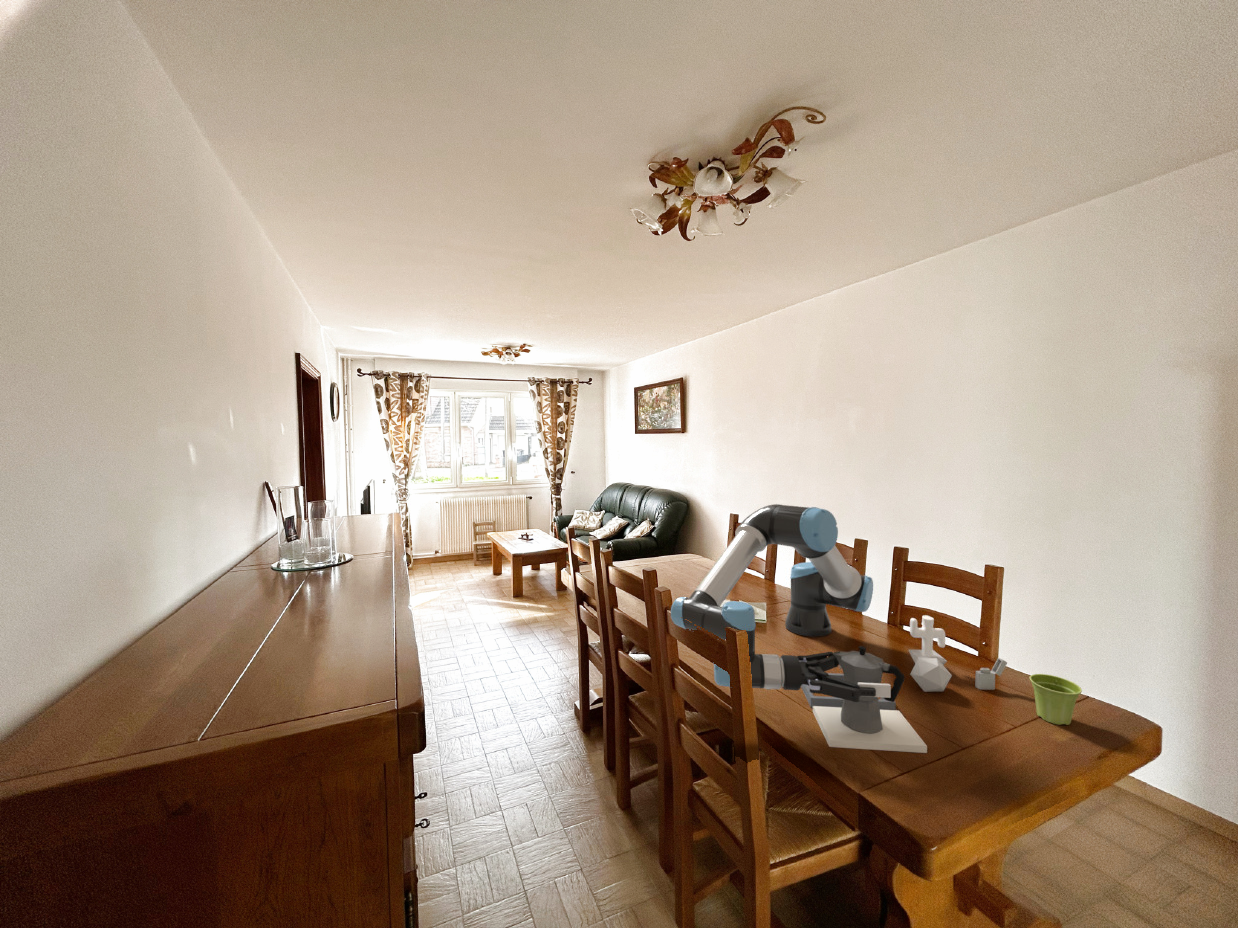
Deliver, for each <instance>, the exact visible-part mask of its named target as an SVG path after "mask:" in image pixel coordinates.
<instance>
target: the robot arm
mask: <svg viewBox="0 0 1238 928" xmlns="http://www.w3.org/2000/svg"><path fill="white" fill-rule="evenodd" d="M837 524H838V522H837V519H836V517H835V516H834V514H833V513H832V512H831V511H830V510H828V509H825V508H819V507H815V506H812V507H811V506H810V507H809V506H807V507H806V506H795V505H788V504H787V505H785V504H777V503H775V504H768V505H766V506H763V507H760V508H758V509H757V510H755V511H754V512H752V513H751V514H749V515H747V516H746V517H745V518H744V520H742V521H741V523H740V524H739V525H738V526H737V528H736V529H735V531H734V532H735V536H734V537H733V539H732V540H731V541H730V543H729V544H728V546H726V548H725V549H724V550H723V552H722V553H721V555H720V556H719V558H718V559H717V561H715V562H714V564H713V566H712V567H711V568H710V569H709V571H708V572H707V574H706V575H705V576H704V578H703V579H702V580H701V582H700V583H699V584H698V586H697V587H695V589H694V591H693V592H692V593H691V594H690V596H689V597H687V596H679V597H677V598H676V599H675V600H674V601H673V603H672V605H671V607H670V618H671V620H672V623H673V624H675V625H676V626H677V627H679V628H682V629H684V630H686V629H689V630H688V631H691V629H692V630H697V629H696V628H697V626H700V627H702V628H704V629H705V630H708V632H711V633H713V634H714V635H716V636H718V637H719V638H721V639H723V640H725V639H726V630H725V628H726V627H731V628H734V629H737V630H746V632H747V634H748V644H749V656H750V662H751V674H752V688H751V689H765V690H768V691H770V690H781V689H783V690H785V691H800V689H802V688H801V685H802V684H804V685H809V687H810V692H811V693H813V694H819V695H820V694H821V695H825V696H827V697H837V698H841V699H845V700H849V701H853V702H859V697H860V696H866V697H878V698H880V697H885V698H891V689H892V687H891V686H892V685H891V684H890V683H882V682H881V683H861V682H858V685H857V684H854V683H851V682H847V681H844V680H841V679H838V678H835V677H832V676H829V675H828V673H829V672H827V671H830V670H832V669H834V668H835V669H836V668H837V667H838V668H839V669H840V670H843V669H842V667H841V666H840V664H839V662H838V660H837V658H836V657H835V655H833V653H834V651H833V652H832V651H827V652H826V651H825V652H819V653H815V654H814V653H813V654H805V655H797V656H796V655H790V654H789V655H787V654H781V656H779V655H778V654H769V653H764V654H763V653H762V654H761V653H756V628H757V625H756V615H755V613H756V612H755V608H754V607H753V606H752V605H751V604H750V603H747V602H744V601H737V600H732V601H727V602H724V601H725V600H726V599H727V598H728V596H729V595H730V593H731V592H732V589H734V587H735V586H736V584H737V582H738V581H739V580H740V578H741V577H742V576H743V574H744V573H745V572H746V570H747V569H748V567H749V565H750V564H751V562H752V561H753V560H754V558H755V557H756V556H757V554H758V553H759V552H760V553H761V552H763V551H764V550H765V549H766V547H767V546H769V545H778V546H785V547H791V548H793V549H794V550H795V551H796V553H798V555H800V556H801V557H803V558H805V559H808V560H809V561H808V562H807V561H806V562H799V563H796V564H794V565H793V566H791V570H790V606H789V609H788V612H787V615H786V617H785V621H784V622H785V624H784V625H785V628H786V629H787V631H789V632H791V633H794V634H796V635H800V636H803V637H811V638H812V637H818V638H820V637H826V636H828V635H831V633H832V624H831V619H830V616H829V614H828V611H827V605H830V606H834V607H838V608H843V609H845V610H846V609H847V610H851V611H854V612H862V613H864V612H865V613H866V612H867V611H868V610H869V608H870V606H871V603H872V598H873V593H874V580H873V578H872V577H871V576H868V575H861V573H860V572H859V571H858V570H857V569H856V568H855V567H853V566H851V565H849V564H848V563H847V561H846V559H845V558H844V557H843V555H842V553H841V552H840V550H839V549H838V548H837V546H836V544H837V540H838V535H839V529H838V526H837ZM721 605H722V606H721ZM681 617H682V618H681ZM685 619H687V620H689V621H691V622H692V623H690V622H689V621H687V620H685ZM694 624H696V625H697V626H694ZM699 629H700V630H701V628H699ZM713 679H714V682H715V684H716V685H718V686H720V687H725V688H727V687H729V688H731V687H730V675H729V674H728V672H727V671H725V670H723V669H722V668H720V667H718V666H717V665H716V664H714V663H713Z"/></svg>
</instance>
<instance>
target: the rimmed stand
mask: <svg viewBox="0 0 1238 928" xmlns="http://www.w3.org/2000/svg"><path fill="white" fill-rule="evenodd" d="M827 673H828V675H829V676H832V677H835V678H838V679H841V680H844V674H843V673H836V672H834V673H833V672H832V673H831V672H827ZM800 689H801V690H802V692H803V694H804V696H805V698H806V701H807V703H808V705H809V707H810V708H812V709H813V706H822V707H841V708H842V705H843V700H844V699H841V698H837V697H833V696H820V695H819V696H818V695H814V693H811V692H810V686H809V685H804V684H802V685H801V688H800ZM878 701H879V708H880V710H896V703H897V702H896V700H895V701H894V702H890V701H887V700H885V699H884V697H879V698H878Z"/></svg>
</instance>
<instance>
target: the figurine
mask: <svg viewBox="0 0 1238 928" xmlns="http://www.w3.org/2000/svg"><path fill="white" fill-rule="evenodd" d="M921 618H922V619H921V625H922V626H921V627H918V620H917V619H916V618H914V617H911V618H910V621H909V633H910V636H911V637H913V638H914V639H916V638H917V639H921V649H908V653H909V654H910V657H911V658H912V660H913V662H914V665H915V664H916V662H917V660H918V659H922V658H937V659H938V660H939V661H940V662H941V664H942V665H943V666H944V665H945V664H946V663H947V662H948V660H947V659H945V658H944V657H943V656H942V655H940V654H939V653H938V652H936V651H935V650H934V646H933V645H934V639H937V646H938V647H939V648H941V649H942V648H944V649H945V647H946V632H945V630H944V629H943V628H938V627H937V628H936V627H935V628H934V623H935V622H934V621H935V619H934V617H932V616H930V615H928V614H927V615H926V614H925V615H922V617H921Z"/></svg>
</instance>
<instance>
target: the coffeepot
mask: <svg viewBox="0 0 1238 928" xmlns="http://www.w3.org/2000/svg"><path fill="white" fill-rule="evenodd" d="M858 650H859V651H857V650H850V651H841V650H840V651H833V655H835V657H836V658H837V660H838V662H839V664H840V666H841V667H842V669H841V670H842V674H844V681H847V682H851V683H854V684H857V685H858V682H861V683H882V681H883V680H882V679H883V673H884V674H891V675H894V676H895V679H894V681H893V686H892V687H891V698H885V697H884V699H885V700H887V701H890V702H894V701H895V702H896V699H897V697H898V695H899V692H900V690H901V688H902V686H903V684H904V682H905V675H904V674H903V672H902V671H901V670H900V668H899V667H897V666H896V665H892V664H889V663H887V662H884V659H883V658H881V657H878V656H877V655H874V654H872V653H870V652H867V647H865V646H862V645H861V646H860V645H859V646H858ZM878 699H879V697H866V696H860V697H859V702H853V701H849V700H845V699H844V700H843V705H842V710H841V722H842V723H843V724H844V725H845V726H847V727H848V728H850V729H852V730H854V731H857V732H861V733H867V734H872V733H877V732H880V731H881V730H883V728H882V721H881V715H880V708H879V701H878Z"/></svg>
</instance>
